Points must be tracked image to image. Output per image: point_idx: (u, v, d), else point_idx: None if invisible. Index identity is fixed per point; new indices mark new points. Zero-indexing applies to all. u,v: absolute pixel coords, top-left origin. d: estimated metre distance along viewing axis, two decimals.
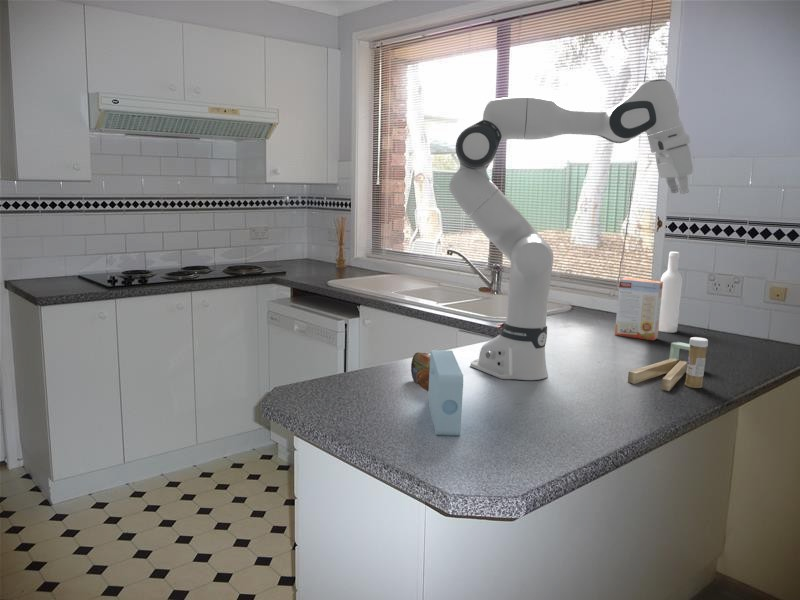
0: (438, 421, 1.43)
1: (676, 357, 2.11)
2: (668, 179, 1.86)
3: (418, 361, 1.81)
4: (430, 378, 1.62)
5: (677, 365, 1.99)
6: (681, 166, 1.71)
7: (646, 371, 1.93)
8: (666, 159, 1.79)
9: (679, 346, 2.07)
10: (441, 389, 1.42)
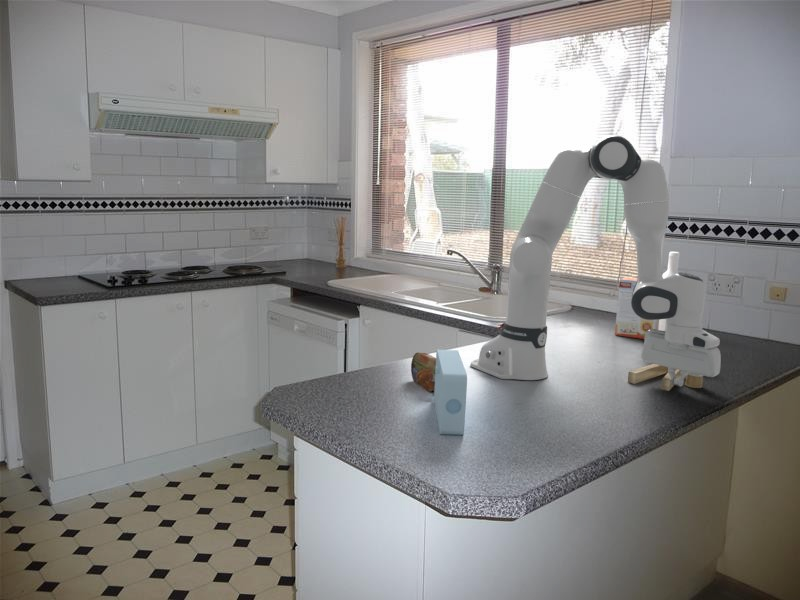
0: (442, 420, 1.44)
1: None
2: (673, 370, 1.84)
3: (418, 361, 1.81)
4: (436, 378, 1.63)
5: None
6: (716, 368, 1.75)
7: (646, 371, 1.93)
8: (681, 352, 1.81)
9: None
10: (445, 389, 1.43)
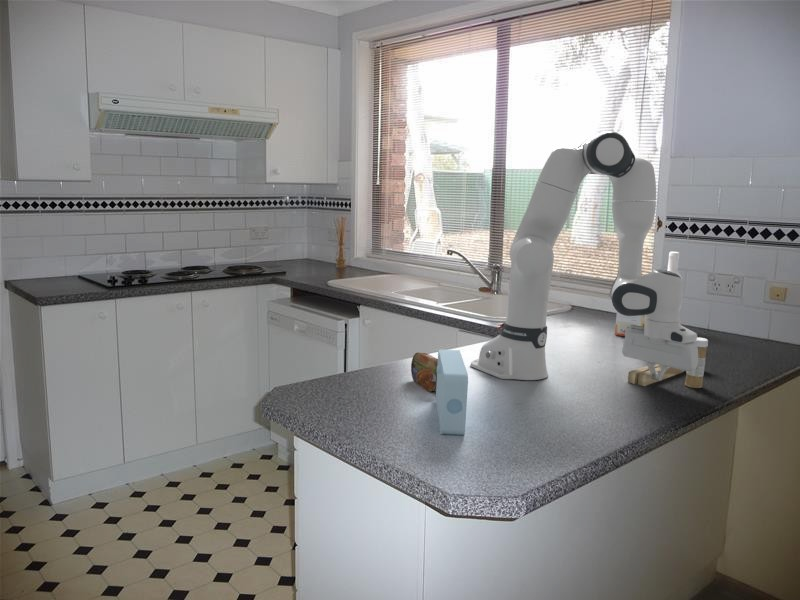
0: (443, 420, 1.44)
1: None
2: (652, 365, 1.88)
3: (418, 361, 1.81)
4: None
5: None
6: (693, 362, 1.79)
7: None
8: (660, 347, 1.85)
9: None
10: (446, 388, 1.43)
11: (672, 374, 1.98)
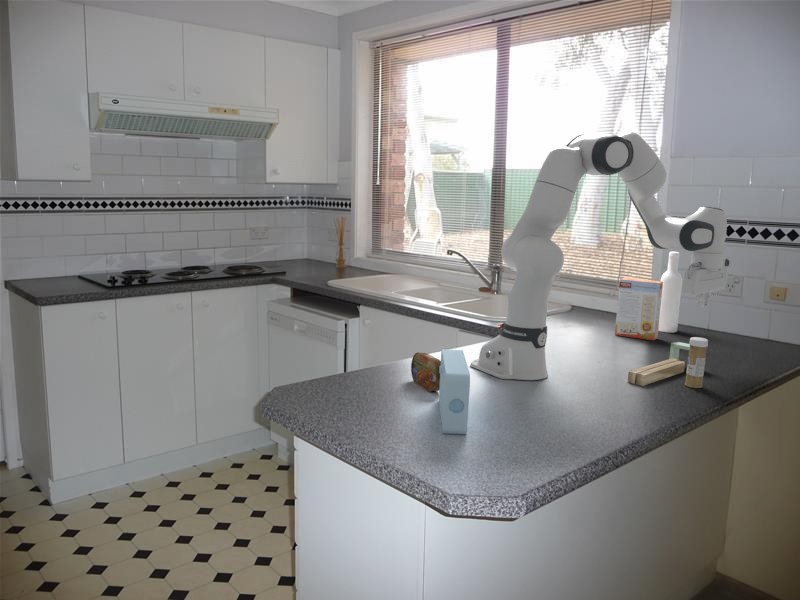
0: (445, 420, 1.44)
1: (676, 357, 2.11)
2: None
3: (418, 361, 1.81)
4: None
5: (669, 364, 2.00)
6: None
7: None
8: (712, 276, 2.07)
9: (679, 346, 2.07)
10: (448, 388, 1.43)
11: (671, 374, 1.98)
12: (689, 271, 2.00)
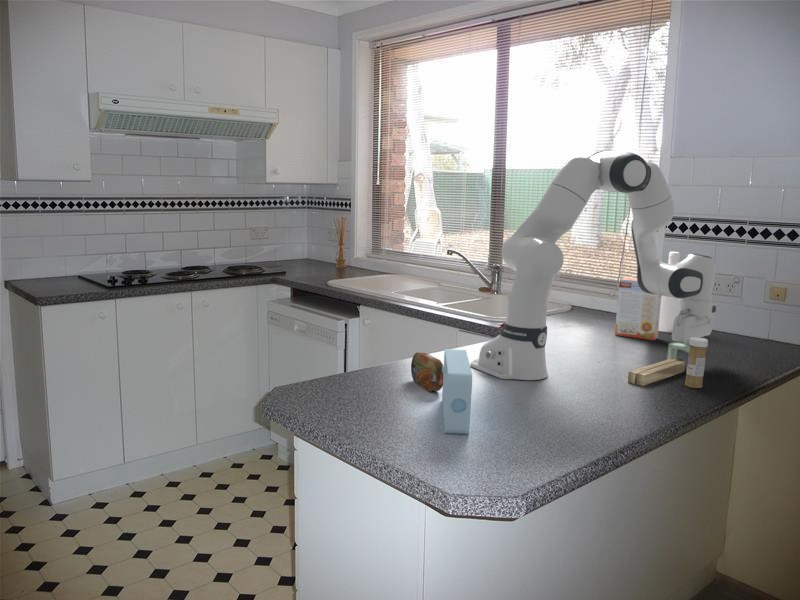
0: (447, 419, 1.45)
1: None
2: None
3: (418, 361, 1.81)
4: None
5: (669, 364, 2.00)
6: None
7: None
8: (699, 322, 2.08)
9: (677, 347, 2.06)
10: (450, 388, 1.43)
11: (671, 374, 1.98)
12: (679, 318, 2.01)
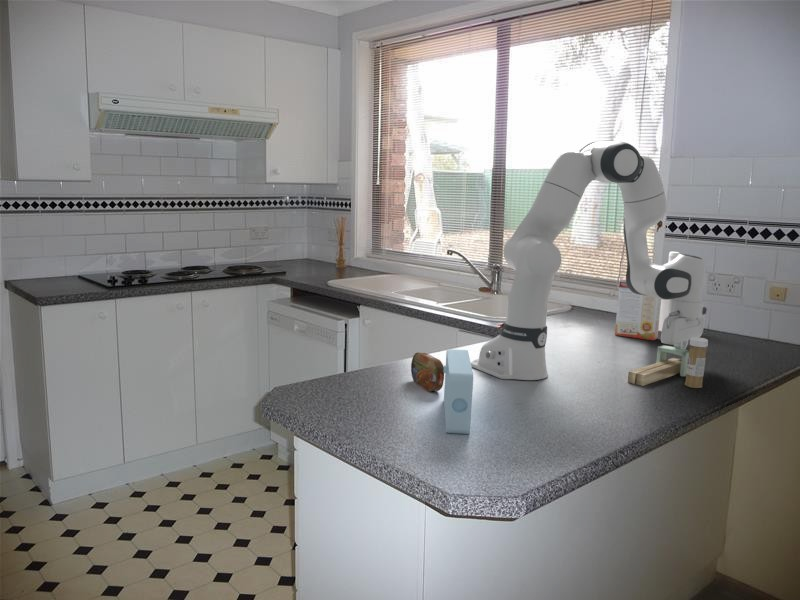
0: (448, 419, 1.45)
1: None
2: None
3: (418, 361, 1.81)
4: (445, 377, 1.64)
5: (669, 364, 2.00)
6: None
7: None
8: (689, 324, 2.03)
9: (666, 350, 2.02)
10: (451, 387, 1.44)
11: (671, 374, 1.98)
12: (668, 320, 1.96)
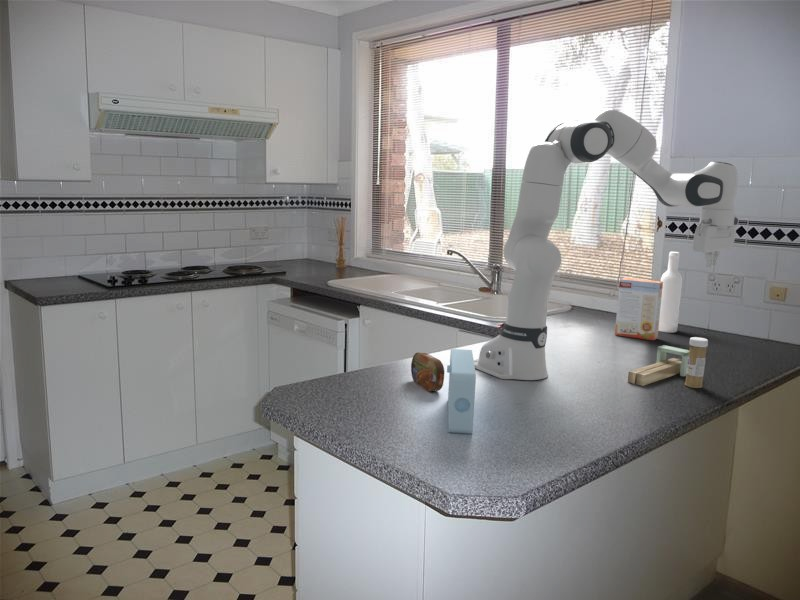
0: (450, 419, 1.45)
1: None
2: None
3: (418, 361, 1.81)
4: (449, 377, 1.64)
5: (669, 364, 2.00)
6: None
7: None
8: (721, 234, 2.01)
9: (666, 350, 2.01)
10: (454, 387, 1.44)
11: (671, 374, 1.98)
12: (700, 227, 1.94)
